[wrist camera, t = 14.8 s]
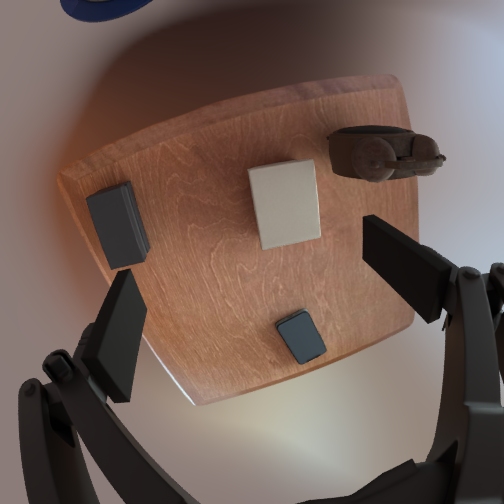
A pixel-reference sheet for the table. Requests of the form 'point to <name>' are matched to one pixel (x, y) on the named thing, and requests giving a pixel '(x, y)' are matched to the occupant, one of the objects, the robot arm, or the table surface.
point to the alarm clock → (382, 153)
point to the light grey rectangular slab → (285, 202)
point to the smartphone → (301, 336)
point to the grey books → (119, 225)
